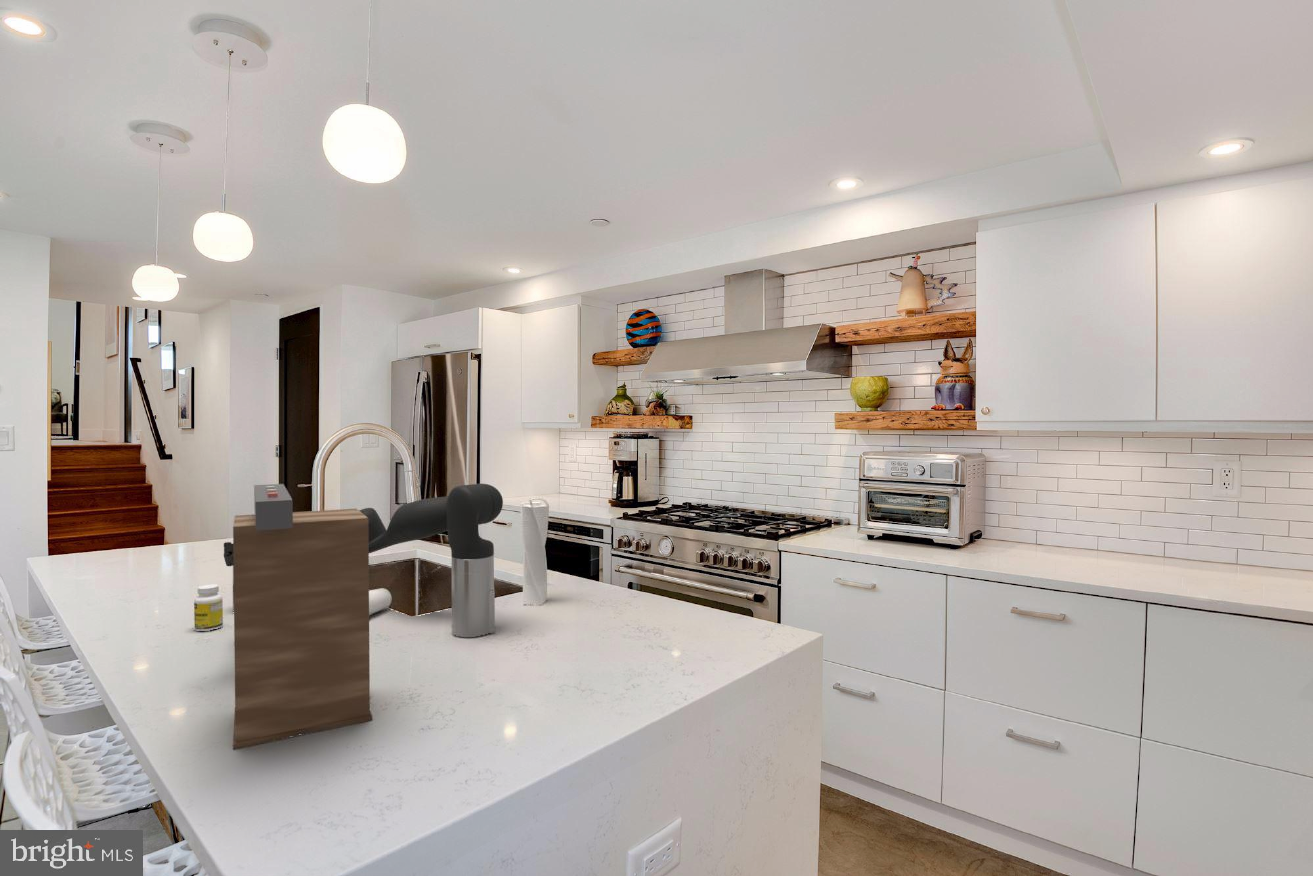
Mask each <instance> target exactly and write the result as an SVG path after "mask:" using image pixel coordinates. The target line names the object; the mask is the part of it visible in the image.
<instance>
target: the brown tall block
mask: <svg viewBox="0 0 1313 876" xmlns="http://www.w3.org/2000/svg"><path fill="white" fill-rule="evenodd" d="M359 510H360V509H357V508H345V509H344V508H343V509H342V508H341V509H325V510H312V511H311V510H308V511H293V528H288V529H273V530H259V531H256V526H255V514H243V515H234V520H233V526H232V536H233V537H232V538H233V539H232V540H233V541H232V542H233V543H232V544H233V558H234V613H233V620H234V621H233V622H234V624H233V627H234V629H233V631H234V633H233V635H234V637H233V638H234V720H233V722H234V723H233V735H232V736H233V738H232V750H236V748H238V749H242V747H243V748H246V746H248V747H251V746H255V744H257V745H262V744H265V742H266V743H270V741H271V742H274V741H273V740H276V741H280V740H279V739H281V740H283V739H282V738H285V739H288V738H287V737H290V736H295V737H298V736H297V735H299V734H304V735H307V734H306V733H309V734H312V733H311V732H314V733H317V732H316V731H318V732H322V730H323V731H326V730H325V729H328V730H331V729H332V728H333V729H336V728H335V727H337V728H342V727H346V726H345V725H347V726H351V725H356V724H361V723H367V722H369V721H373V714H372V711H371V708H370V707H371V706H370V704H371V702H370V700H371V697H370V695H371V694H370V693H371V691H370V689H371V688H370V687H371V686H370V675H371V674H370V615H369V590H370V565H369V563H370V562H369V561H370V559H369V558H370V556H369V555H370V553H369V530H368V517H366V516H365V515H364V514H363V513H361V512H360V511H359ZM290 738H291V737H290ZM261 743H262V744H261Z"/></svg>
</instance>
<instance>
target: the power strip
mask: <svg viewBox="0 0 1313 876" xmlns="http://www.w3.org/2000/svg"><path fill="white" fill-rule="evenodd" d="M253 488H254V490H253V492H254V493H253V495H254V498H253V499H254V500H253V501H254V503H253V504H254V506H253V507H254V515H255V526H256V531H259V530H273V529H288V528H293V512H294V511H293V507H294V506H293V505H294V504H293V502H294V501H293V499H292V496H291V495H290V493H289V491H288V489H287V488H286V486H285V484H284V483H277V484H275V483H274V484H254V486H253Z"/></svg>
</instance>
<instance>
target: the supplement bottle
mask: <svg viewBox="0 0 1313 876" xmlns="http://www.w3.org/2000/svg"><path fill="white" fill-rule="evenodd" d="M219 588H220V587H219V584H213V583H212V584H204V585H203V584H202V585H200V586H198V587H197V595H198V596H196V597H195V598H194V601H193V607H194V611H193V613H194V614H193V615H194V630H195V631H196V632H198V631H208V632H211V631H210V630H213V629H217V630H219V629H218V628H220V627H221V628H223V625H224V617H223V615H224V614H223V613H224V612H223V610H224V608H223V604H224V603H223V595H222V594H221V593H219V590H220V589H219ZM221 628H220V629H221Z"/></svg>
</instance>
